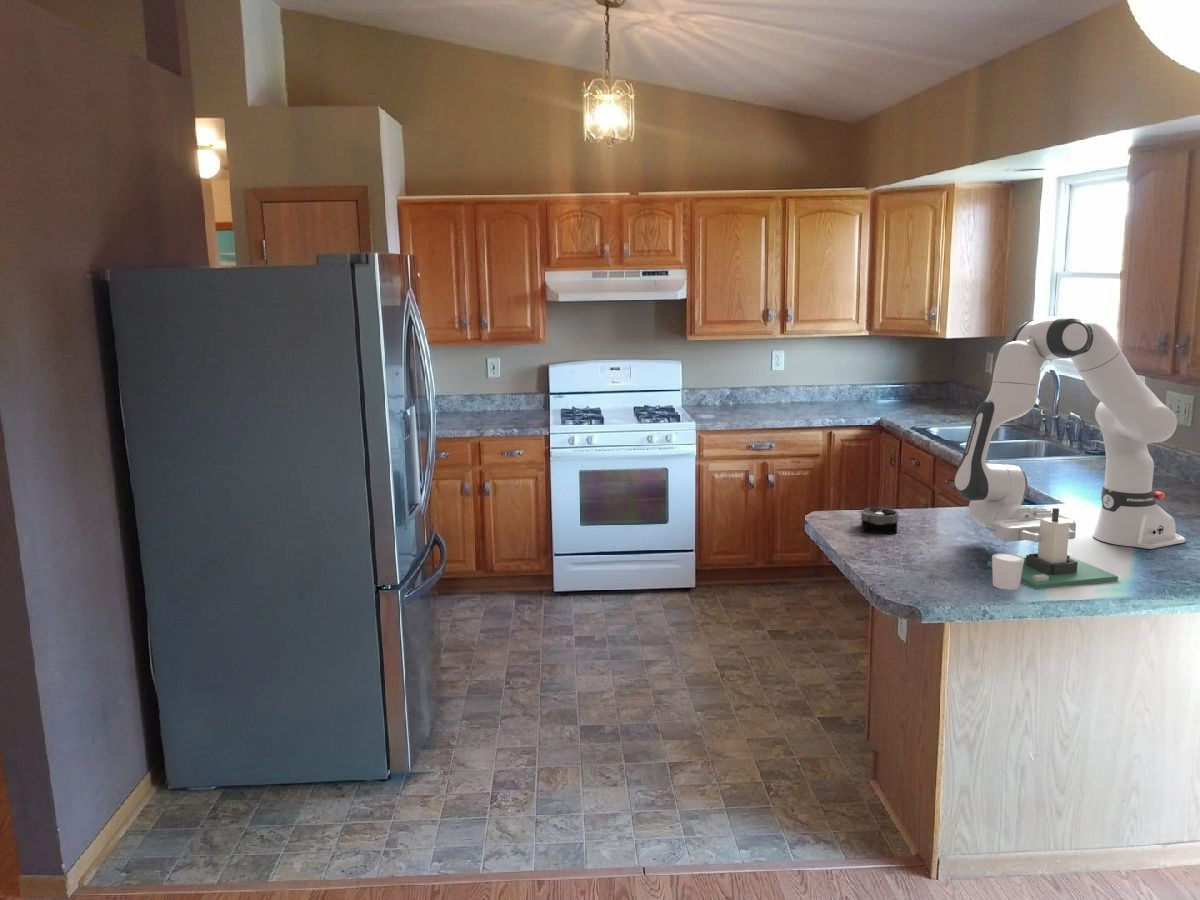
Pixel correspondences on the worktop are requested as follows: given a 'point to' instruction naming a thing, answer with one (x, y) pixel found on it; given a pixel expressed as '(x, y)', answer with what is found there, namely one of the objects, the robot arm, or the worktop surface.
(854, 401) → the worktop surface
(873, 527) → the cpu cooler
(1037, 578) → the circuit board
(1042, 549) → the plug
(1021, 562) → the white cup
